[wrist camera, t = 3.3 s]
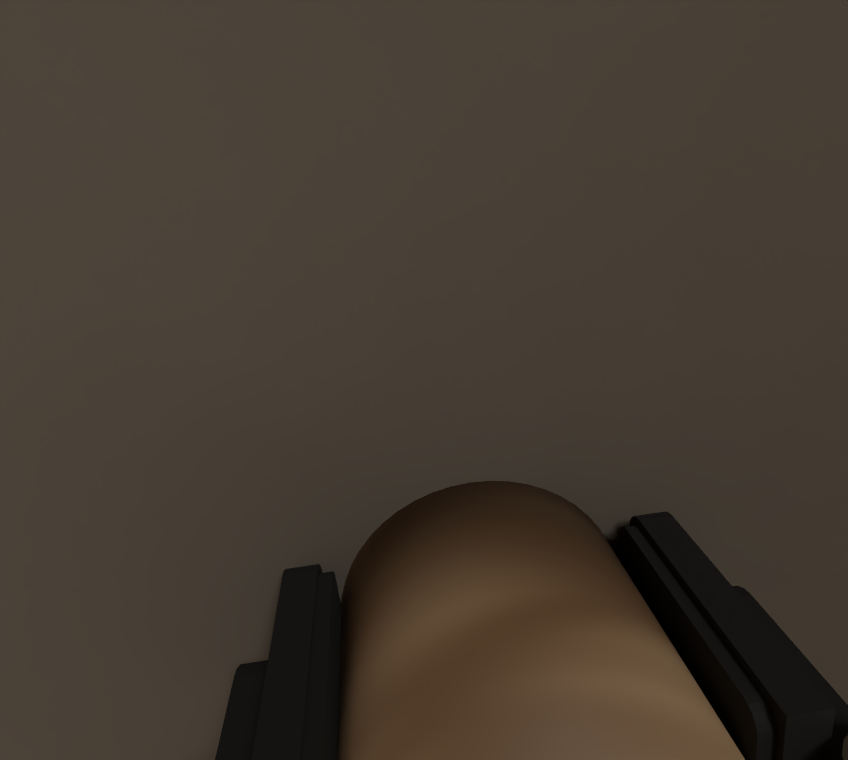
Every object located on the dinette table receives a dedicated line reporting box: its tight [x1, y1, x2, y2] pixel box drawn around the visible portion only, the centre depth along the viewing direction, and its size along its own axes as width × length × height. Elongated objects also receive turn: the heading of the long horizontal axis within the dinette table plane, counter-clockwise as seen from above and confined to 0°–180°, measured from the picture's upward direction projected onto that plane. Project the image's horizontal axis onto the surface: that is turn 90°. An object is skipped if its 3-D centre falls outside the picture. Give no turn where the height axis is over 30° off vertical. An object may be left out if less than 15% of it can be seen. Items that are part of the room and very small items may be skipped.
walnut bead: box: [337, 481, 745, 760], centre depth 8 cm, size 5×5×6 cm
